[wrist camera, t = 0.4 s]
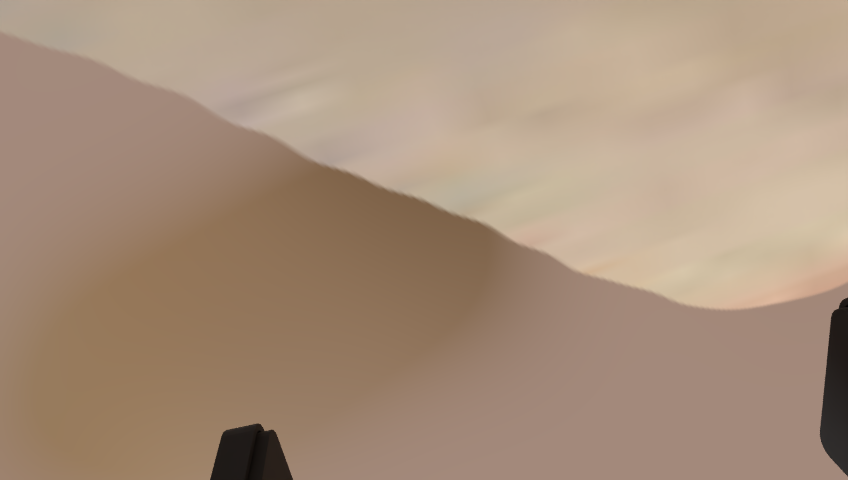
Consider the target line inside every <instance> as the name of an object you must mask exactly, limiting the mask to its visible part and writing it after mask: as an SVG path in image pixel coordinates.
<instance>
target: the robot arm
mask: <svg viewBox="0 0 848 480" xmlns="http://www.w3.org/2000/svg"><path fill="white" fill-rule="evenodd" d="M820 437H821V442H822V445H823V447H824V449H825V451H826V452H827V454H828V455H829V456H830V458H831V459H832V460H833V461H834V462H835V463H836V464H837V465H838V466H839V467H840V469H841V470H843V472H844V473H845V474H846V475H847V476H848V298H846V299H844V300H842V302H841V303H840V306H839V309H837V310H835V311H834V312H833V313H832V317H831V325H830V335H829V346H828V356H827V367H826V377H825V387H824V396H823V408H822V417H821V427H820ZM210 480H293V478H292V476H291V473H290V470H289V467H288V464H287V462H286V459H285V456H284V453H283V451H282V448H281V445H280V442H279V440H278V437H277V435H276V432H275V431H274V430H269V431H264V429H263V427H262V426H261V424H253V425H249V426H244V427H239V428H235V429H230V430H226V431H225V432H223V434H222V437H221V441H220V444H219V448H218V452H217V456H216V459H215V463H214V467H213V471H212V475H211V479H210Z"/></svg>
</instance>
